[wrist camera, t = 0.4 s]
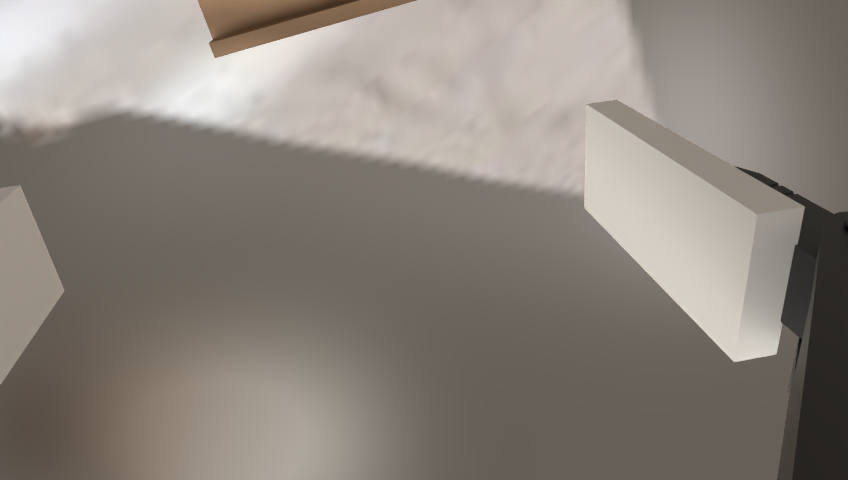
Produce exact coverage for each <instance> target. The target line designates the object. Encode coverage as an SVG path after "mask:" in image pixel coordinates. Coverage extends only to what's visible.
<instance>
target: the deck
mask: <svg viewBox="0 0 848 480" xmlns="http://www.w3.org/2000/svg"><path fill="white" fill-rule="evenodd" d="M412 1H416V0H198V2H199V5H200V7H201V10H202V12H203V15H204V17H205V20H206V23H207V25H208V28H209V30H210V33H211V35H212V38H213V40H212V41H211V42H210V43H209V44H210V47H211V49H212V52H213V54H214V57H215V58H217V57H220V56H224V55H227V54H231V53H234V52H238V51H241V50H245V49H248V48H252V47H255V46H259V45H262V44H266V43H269V42H273V41H276V40H280V39H283V38H287V37H290V36H294V35H297V34H301V33H304V32H308V31H311V30H314V29H318V28H321V27H325V26H328V25H332V24H335V23H339V22H342V21H346V20H349V19H353V18H356V17H360V16H363V15H367V14H370V13H374V12H377V11H381V10H384V9H388V8H391V7H395V6H398V5H402V4H405V3H409V2H412Z"/></svg>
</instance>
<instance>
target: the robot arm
mask: <svg viewBox="0 0 848 480" xmlns="http://www.w3.org/2000/svg"><path fill="white" fill-rule="evenodd" d="M584 208H585V209H586V210H587V211H588V212H589V213H590V214H591V215H592V216H593V217H594V218H595V219H596V220H597V221H598V222H599V223H600V224H601V225H602V226H603V227H604V228H605V229H606V230H607V231H608V232H609V234H610V235H611V236H612V237H613V238H614V239H615V240H616V241H617V242H618V243H619V244H620V245H621V246H622V247H623V248H624V249H625V250H626V251H627V252H628V253H629V254H630V255H631V256H632V257H633V258H634V259H635V260H636V261H637V262H638V263H639V264H640V266H641V267H643V269H644V270H645V271H646V272H647V273H649V275H650V276H651V277H652V278H653V279H654V280H655V281H656V282H657V283H658V284H659V285H660V286H661V287H662V288H663V289H664V290H665V291H666V292H667V293H668V294H669V295H670V296H671V297H672V298H673V299H674V300H675V302H676V303H677V304H678V305H679V306H680V307H681V308H682V309H683V310H684V311H685V312H686V313H687V314H688V315H689V316H690V317H691V318H692V319H693V320H694V321H695V322H696V323H697V324H698V325H699V326H700V327H701V328H702V329H703V330H704V331H705V332H706V334H707V335H708V336H709V337H710V338H711V339H712V340H713V341H714V342H715V343H716V344H717V345H718V346H719V347H720V348H721V349H722V350H723V351H724V352H725V353H726V354H727V355H728V356H729V357H730V358H731V359H732V360H733V361H734V362H737V361H743V360H748V359H753V358H759V357H764V356H769V355H774V354H776V353H777V348H778V343H779V338H780V333H781V328H782V323H783V324H784V325H785V326H787V327H788V328H789V329H790V330H791V331H792V332H794V333H795V334H796V335H797V336H798V337H799V340H798V344H797V349H796V354H795V359H794V364H793V368H792V373H791V378H790V382H789V388H788V392H790V395H789V401H788V408H787V415H786V422H785V428H784V435H783V442H782V449H781V456H780V463H779V470H778V477H777V480H848V211H847V212H839V213H836V214H833V213H831V212H829V211H827V210H825V209H823V208H821V207H820V206H818V205H816V204H815V203H813V202H811V201H809V200H807V199H806V198H804V197H802V196H800V195H798V194H794V193H793V191H791V190H789V189H787V188H786V187H784V186H779V185H778V183H776V182H775V181H773V180H771V179H769V178H767V177H765V176H764V175H762V174H760V173H756V172H753V171H749V170H746V169H742V168H739V167H735V166H732V165H730V164H729V163H727V162H725V161H723V160H722V159H720V158H718V157H716V156H715V155H712V154H711V153H709V152H708V151H706V150H704V149H702V148H700V147H699V146H697V145H695V144H693V143H692V142H690V141H688V140H686V139H685V138H683V137H681V136H679V135H677V134H676V133H674V132H672V131H670V130H669V129H667V128H665V127H663V126H662V125H660V124H658V123H656V122H655V121H653V120H651V119H649V118H648V117H646V116H644V115H642V114H641V113H639V112H637V111H635V110H634V109H632V108H630V107H628V106H626V105H625V104H623V103H621V102H619V101H618V100H613V101H606V102H599V103H592V104H586V154H585V206H584ZM63 292H64V289H63V286H62V284H61V281H60V279H59V277H58V274H57V272H56V270H55V267H54V265H53V262H52V260H51V258H50V255H49V253H48V251H47V248H46V246H45V243H44V241H43V239H42V236H41V234H40V231H39V229H38V227H37V224H36V222H35V220H34V217H33V215H32V212H31V210H30V208H29V205H28V203H27V201H26V198H25V196H24V194H23V191H22V189H21V186H20V185H19V186H13V187H5V188H0V384H1V383H2V381H3V380H4V379H5V377H6V376H7V374H8V373H9V371H10V370H11V368H12V367H13V365H14V364H15V362H16V361H17V359H18V358H19V357H20V355H21V354H22V352H23V351H24V349H25V348H26V346H27V345H28V343H29V342H30V340H31V339H32V337H33V336H34V334H35V333H36V332H37V330H38V329H39V327H40V326H41V324H42V323H43V321H44V320H45V318H46V317H47V315H48V314H49V313H50V311H51V310H52V308H53V307H54V305H55V304H56V302H57V301H58V299H59V298H60V296H61V295H62V293H63Z"/></svg>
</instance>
